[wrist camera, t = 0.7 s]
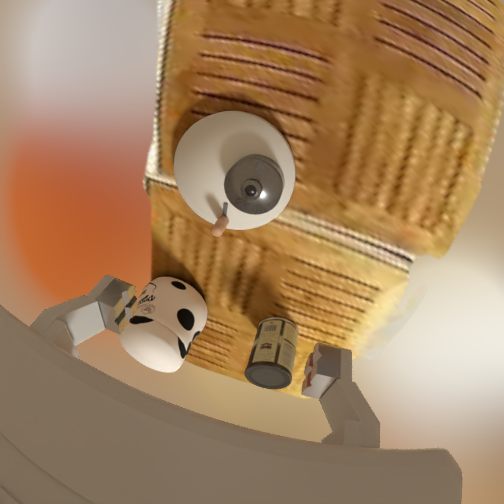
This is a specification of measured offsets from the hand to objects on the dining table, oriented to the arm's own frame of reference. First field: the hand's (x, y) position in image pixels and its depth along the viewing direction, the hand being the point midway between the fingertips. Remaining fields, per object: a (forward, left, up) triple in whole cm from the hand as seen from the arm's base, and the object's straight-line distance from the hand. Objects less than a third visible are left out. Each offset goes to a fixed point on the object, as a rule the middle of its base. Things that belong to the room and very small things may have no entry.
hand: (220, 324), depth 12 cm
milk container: (+44, -19, -39) cm, 62 cm away
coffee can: (+45, +7, -39) cm, 60 cm away
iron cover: (+8, -5, -36) cm, 37 cm away
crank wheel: (+8, -9, -39) cm, 40 cm away
